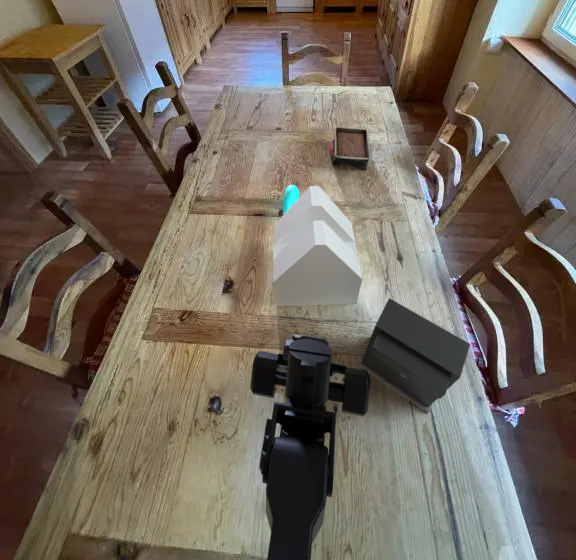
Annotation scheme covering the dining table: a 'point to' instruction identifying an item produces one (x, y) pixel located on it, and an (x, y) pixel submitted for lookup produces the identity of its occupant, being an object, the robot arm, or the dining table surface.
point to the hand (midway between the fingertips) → (312, 357)
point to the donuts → (290, 197)
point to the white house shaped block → (315, 254)
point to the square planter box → (350, 147)
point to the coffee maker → (413, 355)
